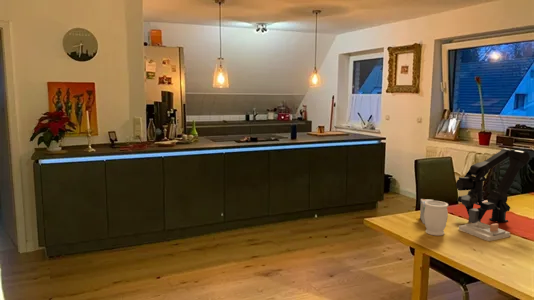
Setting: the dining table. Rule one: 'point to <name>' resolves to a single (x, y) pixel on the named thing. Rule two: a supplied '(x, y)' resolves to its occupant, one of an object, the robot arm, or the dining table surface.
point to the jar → (435, 217)
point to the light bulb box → (423, 209)
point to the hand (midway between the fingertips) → (474, 218)
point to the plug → (473, 215)
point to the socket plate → (482, 231)
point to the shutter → (494, 229)
